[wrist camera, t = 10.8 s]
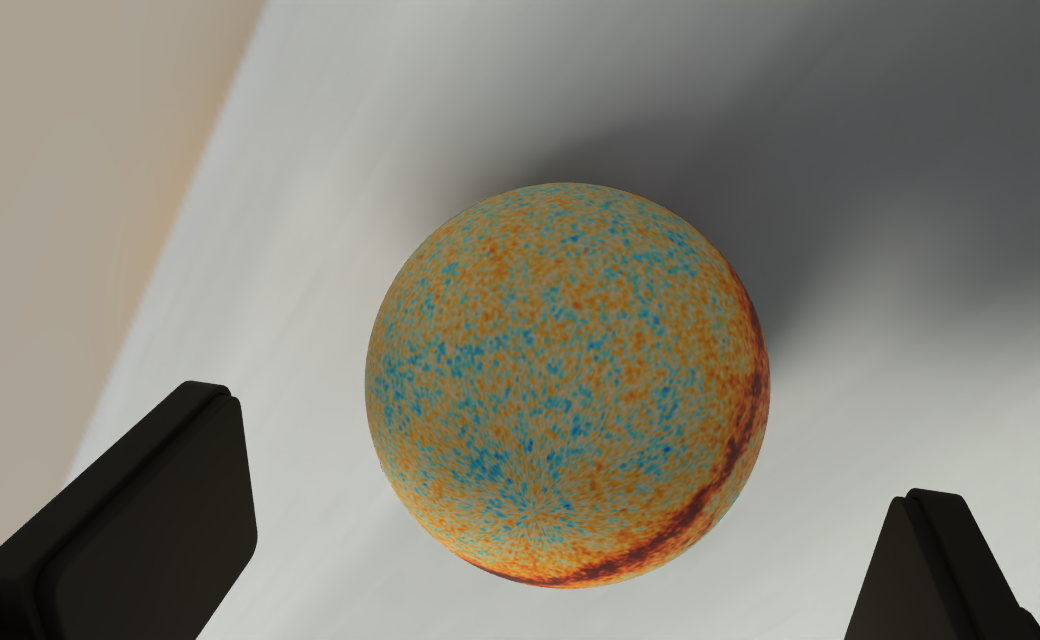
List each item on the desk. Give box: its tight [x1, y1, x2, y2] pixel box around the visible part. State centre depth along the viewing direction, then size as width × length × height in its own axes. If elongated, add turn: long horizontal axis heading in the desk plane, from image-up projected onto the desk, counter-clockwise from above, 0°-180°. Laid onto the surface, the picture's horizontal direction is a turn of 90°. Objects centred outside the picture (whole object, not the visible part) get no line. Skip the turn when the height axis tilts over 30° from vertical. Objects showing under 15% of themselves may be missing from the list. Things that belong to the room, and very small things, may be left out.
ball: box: [365, 183, 770, 589], centre depth 14 cm, size 7×7×7 cm
